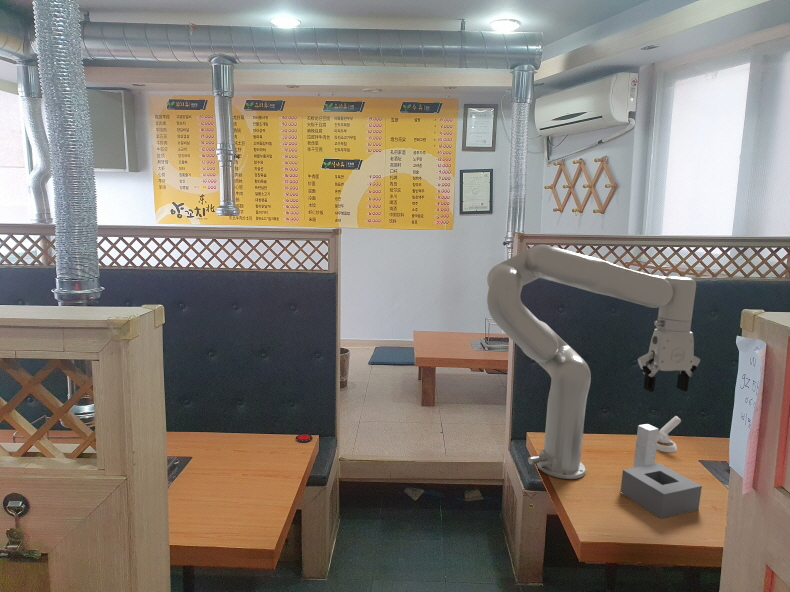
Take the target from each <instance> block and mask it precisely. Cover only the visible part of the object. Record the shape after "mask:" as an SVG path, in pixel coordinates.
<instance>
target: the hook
mask: <svg viewBox="0 0 790 592" xmlns="http://www.w3.org/2000/svg"><path fill="white" fill-rule="evenodd" d="M681 422H682V420H681V418H679V416H677V415H675V416H674V417H672V418H671V419H670V420H669V421H668V422H667V423H665V425H664V426H662V428H660V429H659V432H658V440H657V448H656V451H660V452H663V453H675V452H676V453H677V451H678V447H677V444H676V442H675V441H673V440H671V438H670V435H669V433H670V432H671V431H672V430H673V429H675V428H676V427H677V426H678V425H680V424H681ZM660 443H663V444H660ZM664 444H667V445H664Z"/></svg>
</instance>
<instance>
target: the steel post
mask: <svg viewBox="0 0 790 592" xmlns="http://www.w3.org/2000/svg"><path fill="white" fill-rule="evenodd" d="M659 431H660V429H659V428H658V427H656V426H653V425H651V424H649V423H645V424H639V425H637V434H636V440H635V441H636V442H635V449H634V460H633V466H632V468H635V467H640V466H646V465H651V464H656V463H655V462H656V457H657V456H656V455H657V450H656V448H657V443H658V442H657V440H658V432H659Z"/></svg>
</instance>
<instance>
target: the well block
mask: <svg viewBox="0 0 790 592" xmlns="http://www.w3.org/2000/svg"><path fill="white" fill-rule="evenodd" d="M620 483H621V485H620V491H619V492H622V493H623V494H624V495H623V494H622V493H621V494H622V495H623V496H625V495H626V496H627V498H628V497H629V498H628V499H630V500H631V499H632V500H631V501H633V502H634V501H635V502H634V503H635V504H637V503H638V505H639V506H640V505H641V506H640V507H642V508H644V509H645V510H647V511H648V512H650V513H651V514H653V515H654V516H655V517H658V518H659V519H660V520H662V519H666V518H670V517H674V516H679V515H682V514H687V513H690V512H691V513H692V512H694V511H696V512H697V511H699V509H700V503H701V494H702V487H703V486H702V485H701V484H699V483H697V482H695V481H694V480H691V479H690V478H688V477H687V476H684V475H682V474H681V473H679V472H677V471H675V470H673V469H671V468H669V467H667V466H665V465H663V464H662V463H660V462H657V463H655V464H651V465H646V466H640V467H635V468H633V467H631V468H626V469H625V468H624V469H622V475H621V482H620ZM626 496H625V497H626Z"/></svg>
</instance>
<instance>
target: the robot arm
mask: <svg viewBox="0 0 790 592" xmlns="http://www.w3.org/2000/svg"><path fill="white" fill-rule="evenodd" d="M486 278H487V279H486V280H487V286H488V292H487V297H486V298H487V299H486V302H487V309H488V312H489V314H490V316H491V319H492V320H493V321H494V323H495V324H496V326H498V327H499V328H500V329H501V330H502V331H503V332H504V333H505V334H506V335H507V336H508V338H510V339H511V340H512V341H513V343H515V344H516V345H517V346H518V347H519V348H520V350H521V351H522V352H523V353H524V354H525V355H526V356H527V357H529V358H530V359H531V360H534V361H535V362H536V363H538V365H539V366H540V367H542V368H543V370H544V371H546V372H547V374H548V375H549V376H550V378H551V382H550V389H549V393H548V399H547V405H546V406H547V407H546V408H547V409H546V419H545V420H546V421H545V429H544V430H545V432H544V440H543V441H544V442H543V449H541V450H540V451H539V454H538V455H533V456H529V457H528V458H527V462H528V463H529V465H535V464H536V466H537V468H538V469H539V470H540V471H541V472H542V473H544V474H546V475H549V476H551V477H554V478H558V479H564V480H565V479H566V480H574V479H579V478H580V479H581V478H582V477H583V476H585V475H586V466H585V465H584V464H583V462H581V457H582V455H581V454H582V446H583V436H584V426H585V425H584V424H585V418H586V417H585V416H586V406H587V399H588V395H589V391H590V388H591V387H590V386H591V383H592V382H591V380H592V377H591V376H592V375H591V374H592V373H591V370H590V367H589V365H588V363H587V362H586V361H585V360H584V358H582V357H581V355H579V354H578V353H577V351H575V349H573V348H572V346H570V345H569V344H568V343H567V342H566V341H564V339H562V338H561V337H560V336H559V335H558V334H557V333H556V331H554V330H553V329H552V328H551V327H550V326H549V325H548V324H547V323H546V322H544V321H542V320H539V319H538V318H537V317H536V316H535V315H534V313H532V312H531V311H530V310H529V309H528V308H527V307H526V305H525V304H524V303H523V301H522V300H521V299H522V298H521V293H522V289H523V286H526V285H527V284H529V283H532V282H533V281H535V280H537V279H539V278H540V279H543V280H546V281H550V282H555V283H559V284H562V285H564V286H565V285H566V286H570V287H574V288H577V289H579V290H580V289H581V290H584V291H588V292H591V293H594V294H600V295H603V296H609V297H611V298H616V299H619V300H623V301H627V302H630V303H634V304H638V305H641V306H645V307H647V308H652V309H653V308H655V309H658V315H657V320H654V326H655V327H656V328H654V331H653V334H652V336H651V339H650V344H649V348H648V352H647V353H645V354H643V355H641V356H639V357H637V363H638V365H639V369H640V370H641V371H642V374H644V380H643V389H644V390H646V391H648V392H650V393H654V392H655V386H656V376H655V375H656V374H657V373H658V372H659V371H663V372H680V373H678V374H677V379H676V380H677V382H676V388H677V389H678V390H680V391H683V392H688V391H689V389H688V388H689V382H690V377H692V376H693V373H694V372H695V371H696V370H697V367H698V366H699V364H700V363H701V358H700V357H697V356H696V355H694V354H695V353H694V350H695V345H694V344H695V342H694V341H695V338H694V332H692V331H691V329H692V328H691V327H692V319H693V313H694V312H693V311H694V304H695V296H696V291H697V290H696V289H697V282H696V280H695V279H693V278H691V277H687V276H686V277H685V276H674V275H673V276H672V275H671V276H661V275H660V276H659V275H656V274H655V275H654V274H649V273H644V272H640V271H637V270H633V269H630V268H626V267H623V266H620V265H617V264H614V263H612V262H609V261H606V260H603V259H600V258H598V257H594V256H589V255H586V254H582V253H577V252H573V251H570V250H568V249H564V248H559V247H555V246H552V245H547V244H537V245H533V246H531V247H529V248H528V249H526V250H523V251H522V252H520V253H518V254H515V255H513V256H511V257H510V258H508V259H506V260H504V261H502V262H500V263H497V264H496V265H494V266H493V267H492V268H490V270H489V272H488V274H487V277H486Z"/></svg>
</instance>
